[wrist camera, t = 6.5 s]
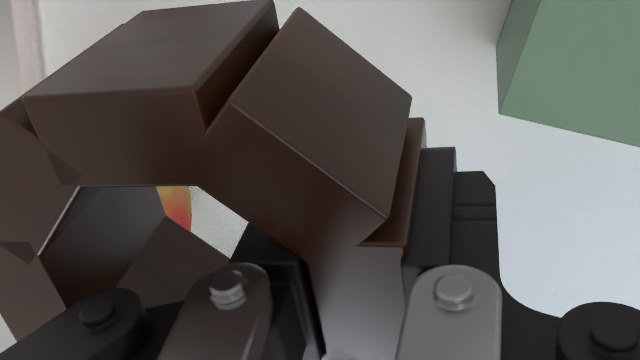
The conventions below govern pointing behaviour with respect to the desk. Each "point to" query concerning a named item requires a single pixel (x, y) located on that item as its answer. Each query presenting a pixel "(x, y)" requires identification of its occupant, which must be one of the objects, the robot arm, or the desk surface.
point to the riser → (572, 66)
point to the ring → (211, 168)
